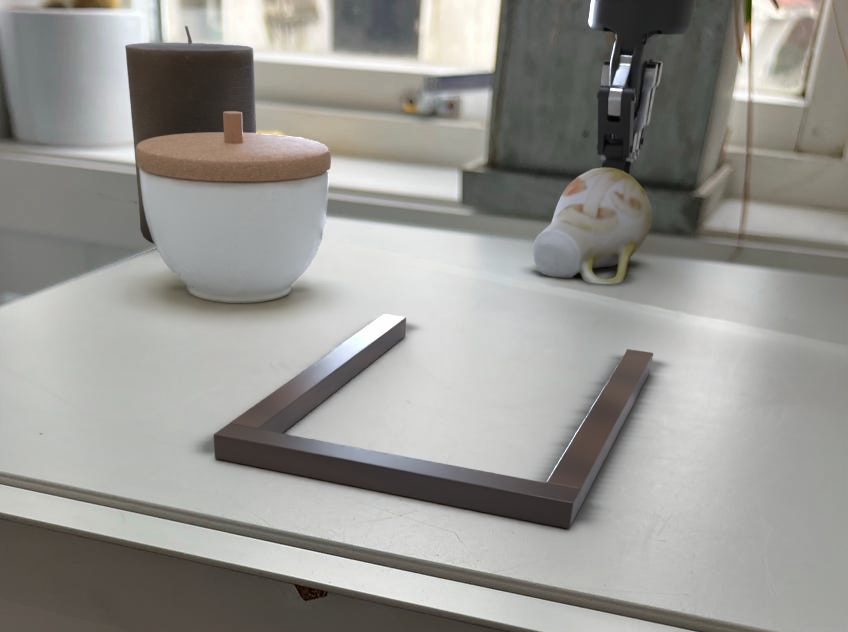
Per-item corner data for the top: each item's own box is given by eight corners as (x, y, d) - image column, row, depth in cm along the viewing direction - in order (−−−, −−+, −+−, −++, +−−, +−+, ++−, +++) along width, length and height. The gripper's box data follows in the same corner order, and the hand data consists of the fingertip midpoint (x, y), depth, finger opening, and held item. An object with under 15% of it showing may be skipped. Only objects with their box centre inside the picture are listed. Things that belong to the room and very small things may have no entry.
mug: (500, 281, 75) (525, 145, 74) (569, 320, 82) (592, 196, 81) (587, 274, 70) (614, 128, 69) (652, 316, 77) (677, 184, 76)
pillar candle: (210, 256, 78) (197, 31, 70) (116, 238, 82) (94, 23, 74) (283, 235, 85) (280, 27, 77) (193, 219, 89) (181, 20, 81)
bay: (383, 333, 63) (383, 313, 62) (649, 373, 58) (653, 352, 57) (214, 458, 46) (212, 434, 46) (569, 529, 41) (573, 503, 41)
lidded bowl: (362, 302, 69) (367, 121, 63) (187, 324, 63) (173, 128, 57) (282, 260, 78) (279, 98, 72) (123, 277, 72) (105, 103, 66)
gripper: (692, -46, 66) (644, 232, 76) (713, -42, 77) (668, 203, 86) (579, -49, 69) (546, 221, 78) (614, -44, 79) (581, 194, 89)
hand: (610, 211), depth 82 cm, fingers closed
